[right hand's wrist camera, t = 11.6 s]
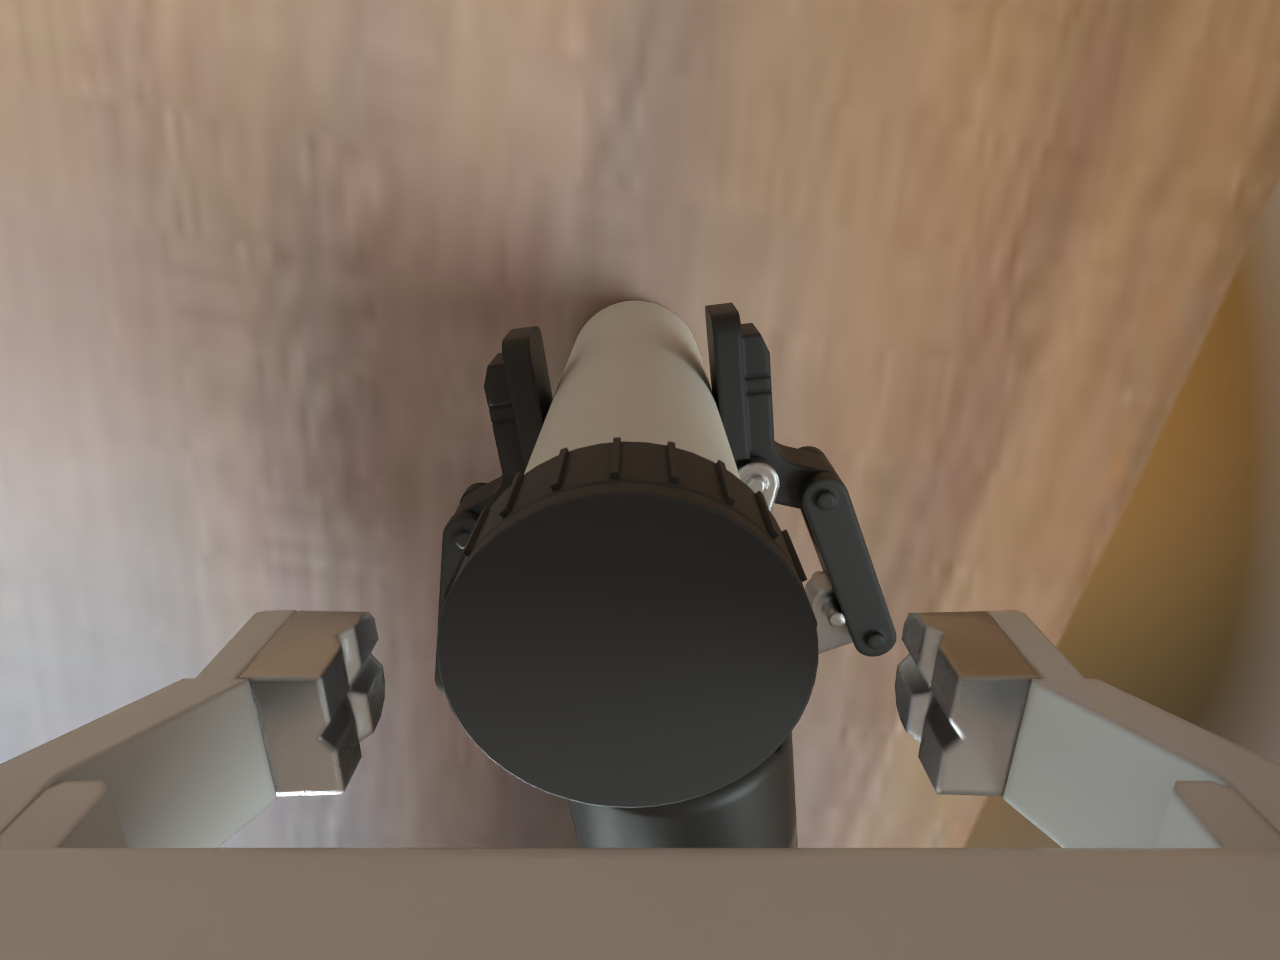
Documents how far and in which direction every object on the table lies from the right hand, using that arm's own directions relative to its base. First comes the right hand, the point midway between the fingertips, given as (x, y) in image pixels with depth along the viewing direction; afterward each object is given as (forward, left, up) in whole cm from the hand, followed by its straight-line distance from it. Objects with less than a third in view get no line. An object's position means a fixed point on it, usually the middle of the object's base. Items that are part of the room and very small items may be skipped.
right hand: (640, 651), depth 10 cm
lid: (0, 0, 0) cm, 0 cm away
